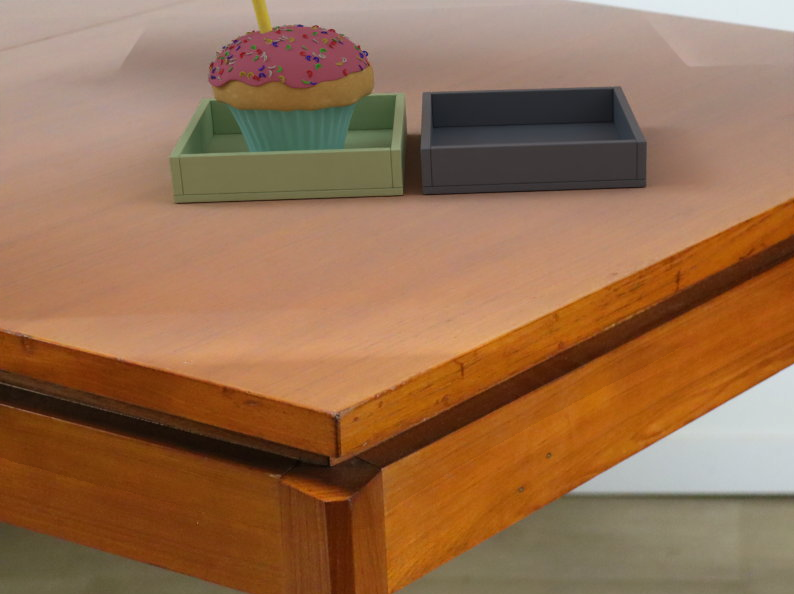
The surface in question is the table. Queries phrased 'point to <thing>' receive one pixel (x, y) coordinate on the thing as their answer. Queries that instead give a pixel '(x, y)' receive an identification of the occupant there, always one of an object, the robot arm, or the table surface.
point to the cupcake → (291, 85)
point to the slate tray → (530, 140)
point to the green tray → (291, 158)
